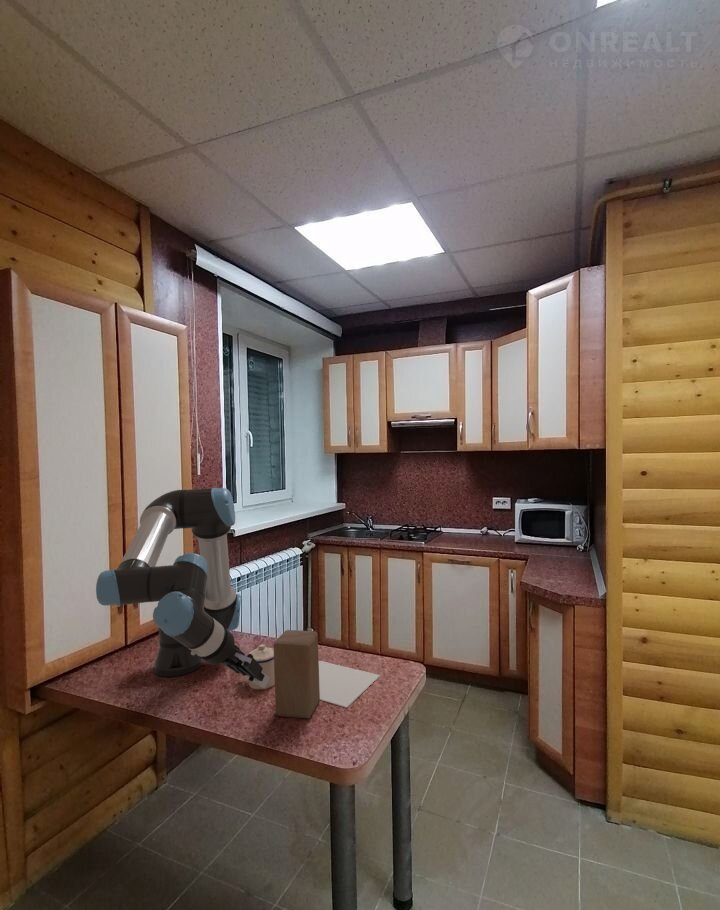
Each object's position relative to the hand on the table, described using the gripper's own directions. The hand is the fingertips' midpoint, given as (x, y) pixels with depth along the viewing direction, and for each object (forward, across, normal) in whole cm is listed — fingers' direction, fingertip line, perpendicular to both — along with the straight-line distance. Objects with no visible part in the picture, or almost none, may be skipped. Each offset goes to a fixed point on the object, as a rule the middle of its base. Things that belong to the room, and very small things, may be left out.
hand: (264, 682), depth 115 cm
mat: (+30, 0, +11) cm, 32 cm away
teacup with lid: (+23, -20, +4) cm, 31 cm away
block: (+19, 0, 0) cm, 19 cm away
